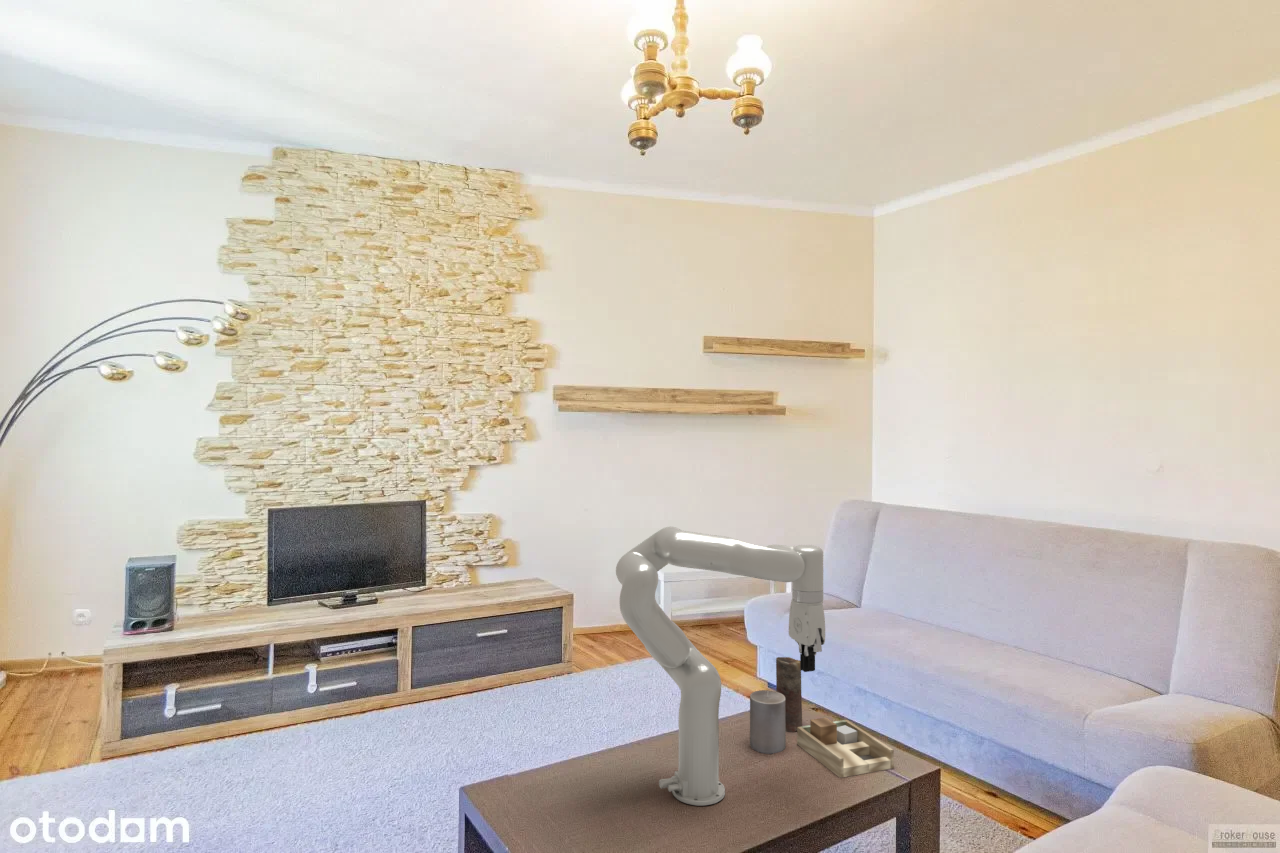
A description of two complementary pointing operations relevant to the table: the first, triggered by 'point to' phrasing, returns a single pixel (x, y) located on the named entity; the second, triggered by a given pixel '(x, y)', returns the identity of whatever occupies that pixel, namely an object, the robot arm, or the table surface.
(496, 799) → the table surface
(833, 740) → the walnut block
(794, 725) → the brown wooden cylinder
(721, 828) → the table surface
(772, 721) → the pillar candle
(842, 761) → the tray
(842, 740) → the trapped grey block
